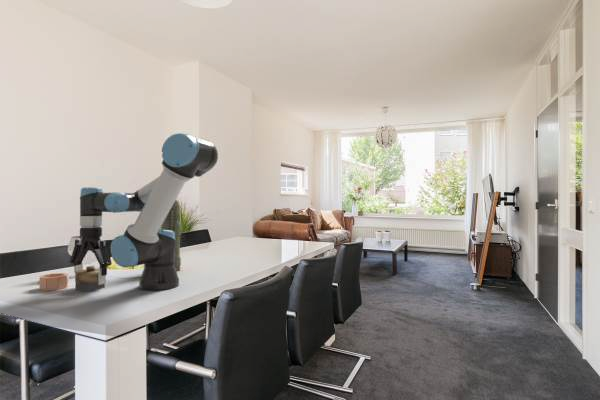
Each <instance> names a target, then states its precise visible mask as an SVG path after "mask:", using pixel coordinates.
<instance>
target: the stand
mask: <svg viewBox="0 0 600 400" xmlns="http://www.w3.org/2000/svg"><path fill="white" fill-rule="evenodd" d="M105 284H106V283H104V284H101V285H98V283H93V284H77V283H75V285H74V286H75V291H79V290H80V292H87V293H88V292H93V290H94V291H97V290H100V289H104V288H105V286H106V285H105Z"/></svg>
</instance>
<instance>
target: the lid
mask: <svg viewBox="0 0 600 400" xmlns="http://www.w3.org/2000/svg"><path fill="white" fill-rule="evenodd" d="M85 267H86V269H85V268H83V270H79V271H76V272H74V274H75V278H74V284H76V283H77V284H93V283H98V275H99V268H96V267H95V265H94V266H93V265H92V266H91V265H89V266H85Z"/></svg>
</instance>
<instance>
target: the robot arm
mask: <svg viewBox="0 0 600 400" xmlns="http://www.w3.org/2000/svg"><path fill="white" fill-rule="evenodd" d="M161 152H162V154H161V157H162V162H161V165H162V168H163V170H162V172H161V173H160V175H159V176H158V177H156V178H155V179H153V180H152V181H150V182H149V183H147V184H146V185H144V186H142V187H141V188H140V189H137V190H136V191H134V192H131V193H129V192H103V188H101V187H87V186H86V187H82V188H81V189H80V194H79V195H80V197H79V214H80V216H79V226H80V228H79V236H80V237H82V239H76V240H75V246H74V250H73V253H72V256H71V255H70V256H71V257H70V260H69V263H70V264H73V265H74V267H73V268H74V270H73V272H74V273H75V272H76V271H79V270H84V265H83V261H84V259H85V257H86V255H87V254H88V252H89V251H90V252H92V253H93V254H94V256H95V258H96V260H97V263H98V265H99V267H98V269H99V275H98V285H101V284H104V283H105V284H106V282H107V274H108V273H107V272H108V267H110V266H112V264H113V263H112V260H113V262H114V263H115V264H117V266H119V267H121V268H134V267H137V266H141V265H142V266H143V265H144V266H143V270H142V273H141V277H140V279H139V282H138V283H139V285H138V289H141V290H146V291H160V290H162V291H163V290H169V289H174V288H177V287H178V286H179V285H180V278H179V277H178V272H176V269H175V241H176V239H175V233H174V232H173V231H171V230H162V229H161V228H162V224H163V222H164V220H165V218H166V216H167V215H168V213H169V211H170V209H171V207H172V206H173V204H174V202H175V200H177V198H178V196H179V195H180V193H181V191H182V190H183V187H184V186H185V184H186V183H187V182H189V181H190V180H191V179H193V178H195V177H198V178H199V177H202V176H204V174H207V173H208V172H209V171H211V170H213V168H214V167H215V166H216V165H217V162H218V159H219V154H218V149H217V147H216V146H215V145H214V143H212V141H210V140H207V139H205V138H201V137H197V136H194V135H191V133H190V134H189V133H182V132H181V133H180V132H179V133H174V134H171V135H170V136H169V137H168V138H167V139H165V141H164V142H163V145H162V147H161ZM126 212H127V213H128V212H139V214H138V216H137V218H136V220H135V222H134V223H132V224H129V225H128V226H127V228H126V229H125V230H124V233H123V235H122V234H121V235H118V236H115V238H113V240H112V241H111V243H110V251H109V248H108V240H107V239H105V240H101V237H102V236H103V228H102V227H101V226H103V213H113V214H115V213H118V214H119V213H126ZM110 254H111V256H110ZM111 257H112V260H111Z"/></svg>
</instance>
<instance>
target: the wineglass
mask: <svg viewBox="0 0 600 400" xmlns="http://www.w3.org/2000/svg"><path fill="white" fill-rule="evenodd" d="M76 239H82V237H80V235H77V236H70V240H69V242H68V246H67V253H68V254H69V255H70V256H72V253H73V250H74V246H75V240H76ZM69 278H70V279H75V275H74V274H73V275H70V276H69Z"/></svg>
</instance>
